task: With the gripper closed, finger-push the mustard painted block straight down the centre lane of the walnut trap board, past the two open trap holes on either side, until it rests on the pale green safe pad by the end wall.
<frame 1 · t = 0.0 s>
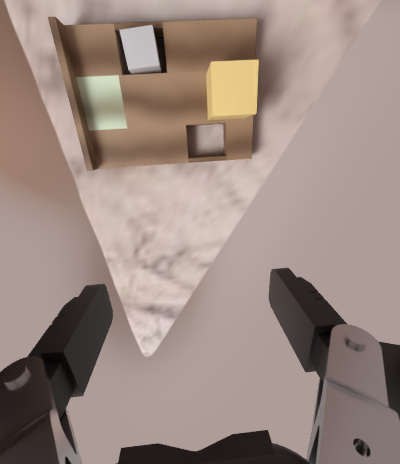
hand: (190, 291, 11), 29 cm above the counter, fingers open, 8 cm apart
mustard block: (226, 97, 31), point 2 cm above the counter, touching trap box
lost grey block: (145, 59, 30), resting in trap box
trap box: (170, 103, 33), on the counter
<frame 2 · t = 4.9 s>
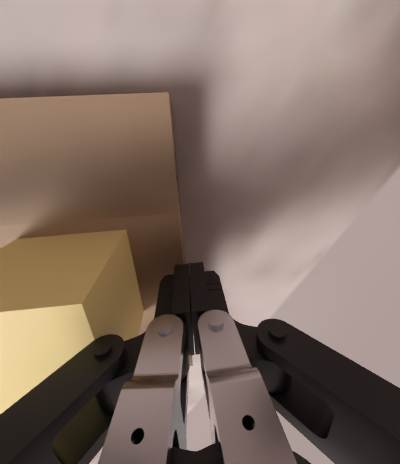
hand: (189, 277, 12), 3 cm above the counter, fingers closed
mustard block: (86, 278, 12), point 2 cm above the counter, touching gripper, hand, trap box
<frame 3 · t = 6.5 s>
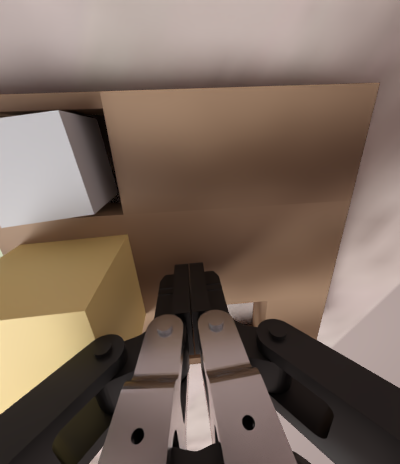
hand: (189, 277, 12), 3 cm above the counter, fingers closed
mustard block: (89, 282, 12), point 3 cm above the counter, touching gripper, hand
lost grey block: (73, 163, 12), resting in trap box
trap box: (141, 247, 14), on the counter
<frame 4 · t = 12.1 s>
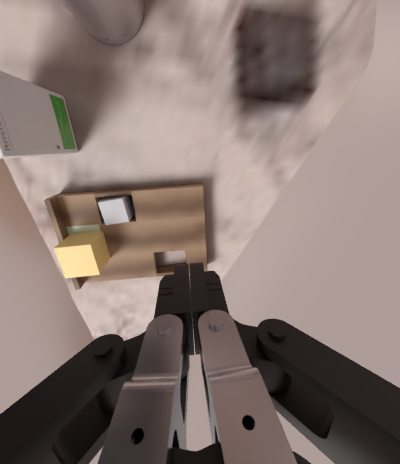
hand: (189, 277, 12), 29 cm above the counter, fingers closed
mustard block: (91, 246, 39), point 2 cm above the counter, touching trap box
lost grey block: (120, 205, 39), resting in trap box
skincare box: (51, 125, 34), on the counter
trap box: (141, 232, 41), on the counter
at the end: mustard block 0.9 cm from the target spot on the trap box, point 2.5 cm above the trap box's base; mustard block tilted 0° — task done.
